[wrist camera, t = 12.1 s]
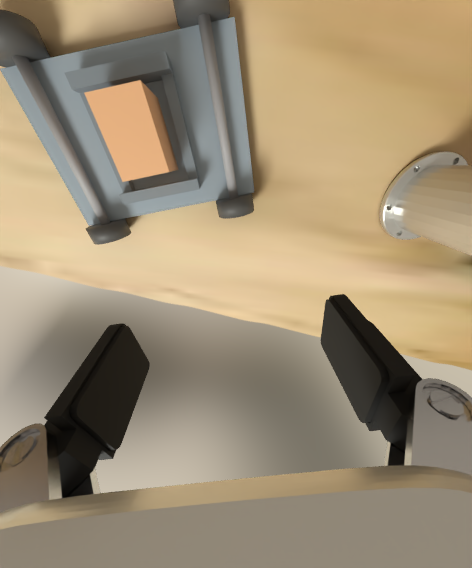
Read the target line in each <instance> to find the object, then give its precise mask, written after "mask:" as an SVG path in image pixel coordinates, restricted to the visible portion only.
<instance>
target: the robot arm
mask: <svg viewBox="0 0 472 568" xmlns="http://www.w3.org/2000/svg"><path fill="white" fill-rule="evenodd" d="M380 223H381V225H382V228H383V229H384V231H385V232H386V233H387V234H389V235H390V236H392V237H394V238H397V239H402V240H410V239H415V238H418V237H424V238H426V239H429V240H432V241H434V242H437V243H439V244H442V245H445V246H447V247H450V248H453V249H455V250H458V251H460V252H463V253H466V254H468V255H471V256H472V165H468V164H467V161H466V160H465V159H464V158H463V157H462V156H461V155H459V154H457V153H454V152H435V153H430V154H428V155H425V156H423V157H420V158H419V159H417V160H415V161H414V162H412V163H411V164H410V165H408V166H407V167H406V168H405V169H403V170H402V171H401V172H400V174H399V175H398V176H397V177H396V178H395V179H394V181H393V182H392V183H391V184H390V186H389V188H388V189H387V191H386V193H385V195H384V198H383V200H382V203H381V207H380ZM321 345H322V347H323V350H324V351H325V353H326V355H327V357H328V359H329V361H330V363H331V365H332V367H333V369H334V371H335V373H336V375H337V377H338V379H339V381H340V383H341V385H342V386H343V389H344V391H345V393H346V394H347V397H348V399H349V401H350V403H351V405H352V406H353V408H354V410H355V412H356V414H357V416H358V418H359V420H360V421H361V422H362V423H366V425H367V427H368V429H369V431H376V430H381V432H382V434H383V435H384V437H385V439H386V440H387V447H386V455H385V462H384V466H379V467H366V468H352V469H340V470H339V469H338V470H327V471H317V472H306V473H296V474H285V475H275V476H265V477H254V478H245V479H234V480H224V481H214V482H204V483H195V484H185V485H175V486H165V487H156V488H146V489H137V490H127V491H119V492H109V493H101V492H100V488H99V484H98V479H97V474H96V469H95V466H96V463H97V461H98V459H99V460H104V459H113V457H114V454H115V451H116V449H118V448H119V447H120V445H121V443H122V441H123V438H124V435H125V432H126V430H127V427H128V424H129V421H130V419H131V416H132V413H133V411H134V408H135V405H136V402H137V400H138V397H139V394H140V392H141V389H142V386H143V383H144V381H145V378H146V375H147V373H148V370H149V361H148V359H147V357H146V356H145V354H144V352H143V350H142V349H141V347H140V345H139V343H138V342H137V340H136V338H135V336H134V335H133V333H132V331H131V330H130V328H129V327H128V326H126V325H125V324H115V325H110V326H109V327H108V328H107V329H106V330H105V332H104V333H103V335H102V336H101V338H100V339H99V341H98V342H97V343H96V345H95V346H94V348H93V349H92V350H91V352H90V353H89V355H88V356H87V358H86V359H85V360H84V362H83V363H82V365H81V366H80V368H79V369H78V370H77V372H76V373H75V375H74V376H73V377H72V379H71V380H70V382H69V383H68V385H67V386H66V388H65V389H64V390H63V392H62V393H61V395H60V396H59V397H58V399H57V400H56V402H55V403H54V405H53V406H52V407H51V409H50V410H49V412H48V413H47V414H46V416H45V417H44V418H45V419H47V420H48V421H47V422H46V424H45V425H42V424H33V425H30V426H27V427H25V428H23V429H21V430H20V431H18V432H17V433H16V434H14V435H13V436H11V437H10V438H9V439H8V440H7V441H6V442H5V443H4V444H3V445H2V446H1V447H0V568H472V398H471V397H470V396H469V395H468V394H467V393H466V392H464V391H463V390H461V389H460V388H458V387H457V386H455V385H452V384H450V383H448V382H446V381H442V380H439V379H431V378H428V379H423V380H422V378H421V377H420V376H419V375H418V374H417V373H416V372H415V371H414V369H413V368H412V367H411V366H410V365H409V364H408V363H407V362H406V360H405V359H404V358H403V357H402V356H401V355H400V354H399V352H398V351H397V350H396V349H395V348H394V347H393V346H392V345H391V343H390V342H389V341H388V340H387V339H386V338H385V337H384V336H383V334H382V333H381V332H380V331H379V330H378V329H377V328H376V327H375V325H374V324H373V323H371V322H370V321H368V320H367V319H366V318H365V317H364V316H363V315H362V313H361V312H360V311H359V310H358V309H357V308H356V307H355V305H354V304H353V303H352V302H351V301H350V300H349V299H348V297H347V296H346V295H344V294H342V295H334V296H330V298H329V299H328V300H326V303H325V311H324V319H323V326H322V334H321Z"/></svg>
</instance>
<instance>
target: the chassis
mask: <svg viewBox="0 0 472 568" xmlns="http://www.w3.org/2000/svg"><path fill="white" fill-rule="evenodd" d="M173 3H174V8H175V12H176V17H177V22H178V25H179V26H180V28H182V29H177V30H173V31H168V32H164V33H159V34H155V35H150V36H146V37H141V38H137V39H132V40H128V41H123V42H119V43H114V44H110V45H105V46H101V47H96V48H92V49H87V50H83V51H78V52H74V53H70V54H65V55H61V56H56V57H52V58H50V56H49V54H48V51H47V49H46V47H45V45H44V43H43V41H42V38H41V36H40V34H39V32H38V30H37V28H36V26H35V25H34V24H33V23H32V22H31V21H30V20H28V19H26V18H25V17H23V16H21V15H18V14H16V13H12V12H9V11H5V10H0V66H3V67H7V68H2V69H0V70H1V72H2V74H3V75H4V77H5V79H6V81H7V82H8V84H9V86H10V88H11V89H12V91H13V93H14V95H15V96H16V98H17V100H18V102H19V104H20V105H21V107H22V109H23V111H24V112H25V114H26V116H27V118H28V119H29V121H30V123H31V125H32V126H33V128H34V130H35V132H36V133H37V135H38V137H39V139H40V140H41V142H42V144H43V146H44V148H45V149H46V151H47V153H48V155H49V156H50V158H51V160H52V162H53V163H54V165H55V167H56V169H57V170H58V172H59V174H60V176H61V177H62V179H63V181H64V183H65V184H66V186H67V188H68V190H69V192H70V193H71V195H72V197H73V199H74V200H75V202H76V204H77V206H78V207H79V209H80V211H81V213H82V214H83V216H84V218H85V220H86V221H87V223H88V225H89V227H88V228H86V230H87V232H88V234H89V235H90V237H91V239H92V241H93V242H94V244H105V243H109V242H113V241H116V240H119V239H121V238H124V237H126V236H128V235H129V234H130V233H131V231H130V229H129V226H128V224H127V222H126V220H125V218H130V217H134V216H139V215H144V214H149V213H154V212H159V211H164V210H169V209H174V208H179V207H184V206H189V205H194V204H199V203H204V202H209V201H214V200H216V204H217V209H218V214H219V217H220V218H236V217H241V216H244V215H247V214H250V213H252V212H253V211H254V205H253V197H252V194H250V193H254V184H253V175H252V166H251V157H250V149H249V140H248V131H247V122H246V114H245V105H244V96H243V87H242V78H241V70H240V61H239V52H238V43H237V35H236V26H235V17H231V18H228V16H229V14H230V6H229V0H173ZM138 80H141V81H142V82H143V83H144V84H145V85H146V86H147V87H148V88H149V89H150V90H151V92H152V93H153V94H154V95H155V96H156V97H157V98H158V100H159V104H160V107H161V111H162V114H163V118H164V121H165V125H166V128H167V131H168V135H169V138H170V142H171V145H172V149H173V152H174V156H175V159H176V163H177V166H178V169H179V170H175V171H172V172H168V173H163V174H158V175H153V176H149V177H144V178H139V179H134V180H130V181H125V182H122V179H121V177H120V175H119V172H118V170H117V168H116V165H115V163H114V161H113V158H112V156H111V154H110V152H109V149H108V147H107V145H106V142H105V140H104V138H103V135H102V133H101V131H100V128H99V126H98V124H97V121H96V119H95V117H94V115H93V112H92V110H91V108H90V105H89V103H88V101H87V98H86V96H85V94H84V93H85V92H89V91H94V90H98V89H103V88H107V87H112V86H116V85H121V84H125V83H129V82H134V81H138ZM90 225H92V226H90Z"/></svg>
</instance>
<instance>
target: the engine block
mask: <svg viewBox="0 0 472 568" xmlns="http://www.w3.org/2000/svg"><path fill="white" fill-rule="evenodd" d="M84 94H85V96H86V98H87V101H88V103H89V105H90V108H91V110H92V112H93V115H94V117H95V119H96V121H97V124H98V126H99V128H100V131H101V133H102V135H103V138H104V140H105V142H106V145H107V147H108V149H109V152H110V154H111V156H112V158H113V161H114V163H115V165H116V168H117V170H118V172H119V175H120V177H121V179H122V182H125V181H130V180H134V179H139V178H144V177H149V176H153V175H158V174H163V173H168V172H172V171H175V170H179V169H178V166H177V163H176V159H175V156H174V152H173V149H172V145H171V142H170V138H169V135H168V131H167V128H166V125H165V121H164V118H163V114H162V111H161V107H160V104H159V100H158V98H157V97H156V96H155V95H154V94H153V93H152V92H151V90H150V89H149V88H148V87H147V86H146V85H145V84H144V83H143V82H142V81H141V80H138V81H134V82H129V83H125V84H121V85H116V86H112V87H107V88H103V89H98V90H94V91H89V92H85V93H84Z"/></svg>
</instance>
